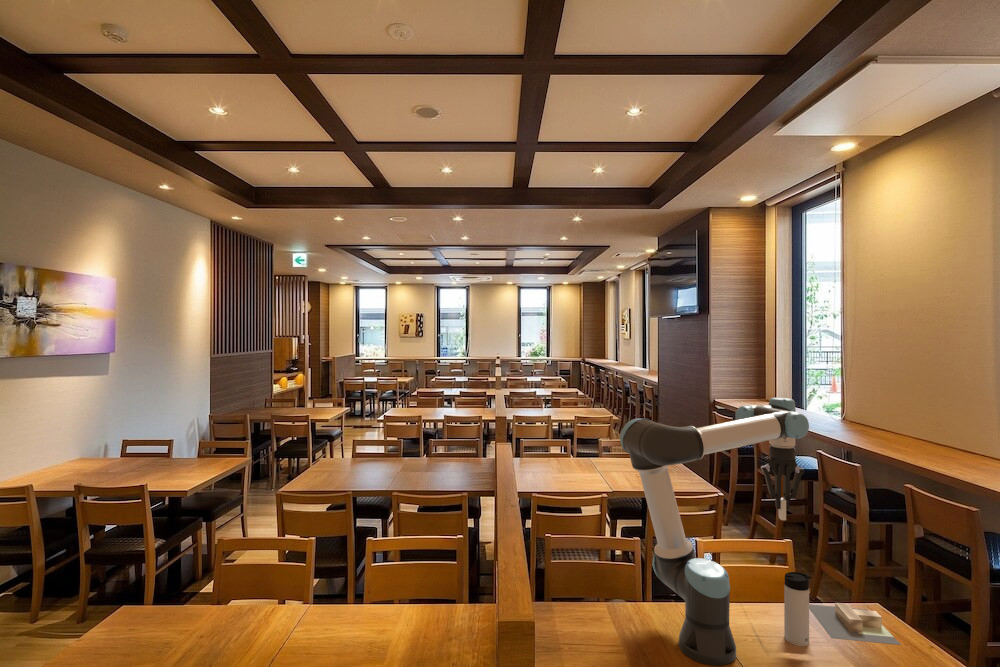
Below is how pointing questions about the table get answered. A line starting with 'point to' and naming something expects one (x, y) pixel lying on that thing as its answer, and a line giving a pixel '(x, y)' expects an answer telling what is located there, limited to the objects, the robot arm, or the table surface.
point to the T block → (857, 618)
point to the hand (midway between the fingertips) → (782, 518)
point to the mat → (841, 632)
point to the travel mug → (796, 608)
